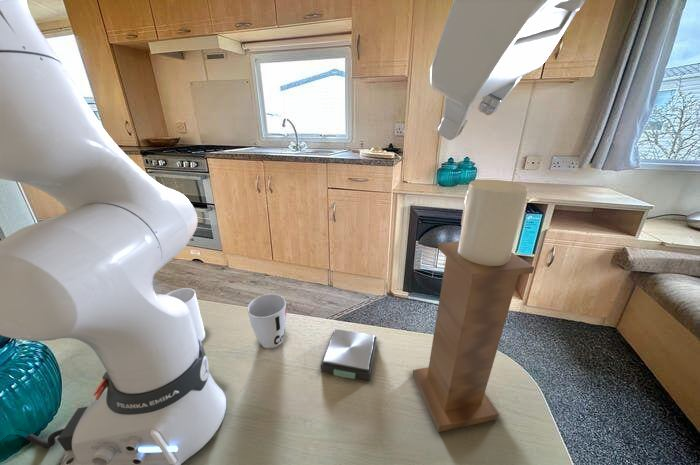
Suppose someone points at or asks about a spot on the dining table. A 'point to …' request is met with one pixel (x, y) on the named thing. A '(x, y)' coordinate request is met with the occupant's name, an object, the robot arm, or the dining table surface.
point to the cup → (268, 319)
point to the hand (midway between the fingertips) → (468, 122)
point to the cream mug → (491, 221)
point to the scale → (349, 355)
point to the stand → (467, 338)
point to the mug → (191, 308)
